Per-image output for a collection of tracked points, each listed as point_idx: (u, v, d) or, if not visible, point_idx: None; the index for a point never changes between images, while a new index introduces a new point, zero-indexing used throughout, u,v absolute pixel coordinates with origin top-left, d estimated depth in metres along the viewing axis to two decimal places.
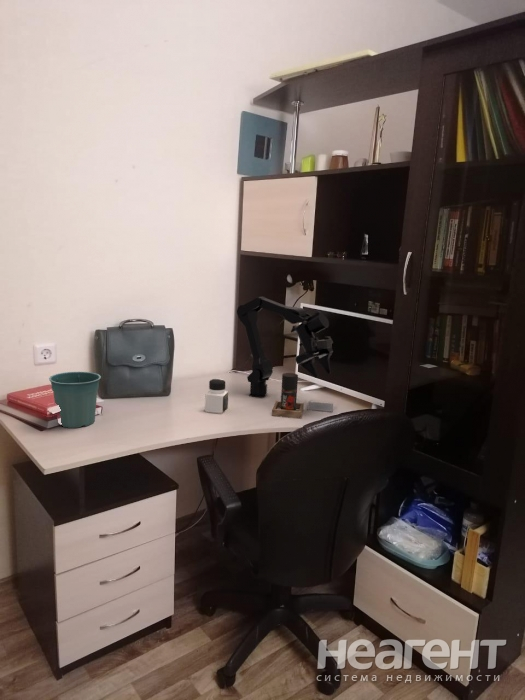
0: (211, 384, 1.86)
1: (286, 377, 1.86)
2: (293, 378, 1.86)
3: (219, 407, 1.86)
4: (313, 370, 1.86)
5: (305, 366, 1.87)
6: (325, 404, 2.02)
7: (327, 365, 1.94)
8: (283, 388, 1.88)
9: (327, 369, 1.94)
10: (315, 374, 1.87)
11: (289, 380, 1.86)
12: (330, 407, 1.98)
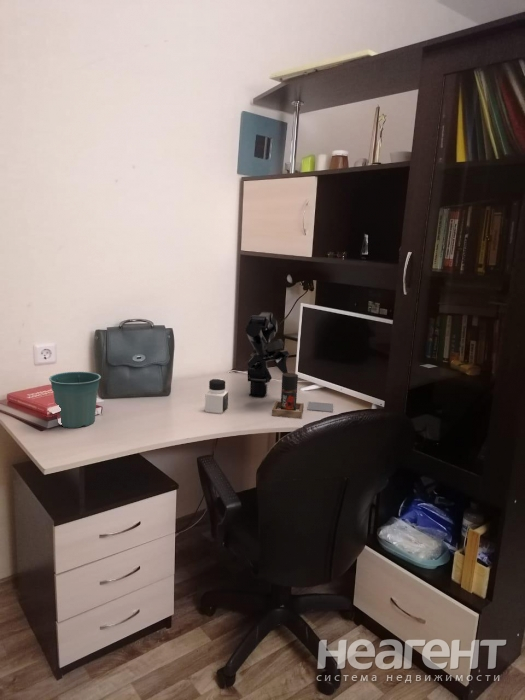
0: (211, 384, 1.86)
1: (286, 377, 1.86)
2: (293, 378, 1.86)
3: (219, 407, 1.86)
4: (266, 372, 1.89)
5: (258, 370, 1.91)
6: (325, 404, 2.02)
7: (284, 368, 1.96)
8: (283, 388, 1.88)
9: (284, 371, 1.96)
10: (268, 376, 1.89)
11: (289, 380, 1.86)
12: (330, 407, 1.98)
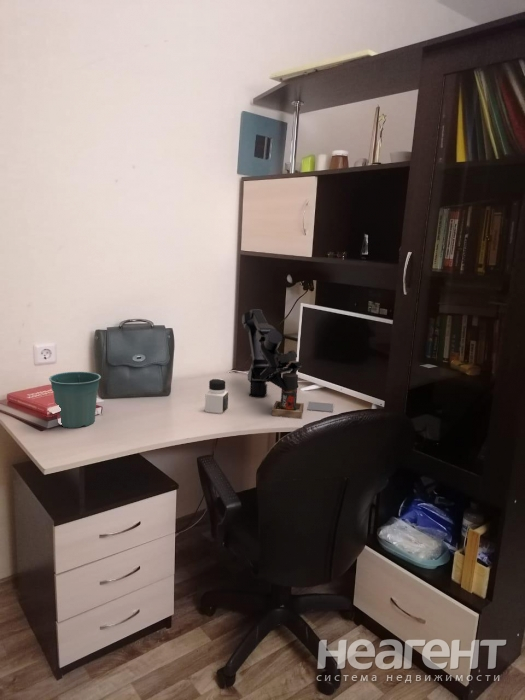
0: (211, 384, 1.86)
1: (286, 377, 1.86)
2: (293, 378, 1.86)
3: (219, 407, 1.86)
4: (281, 384, 1.86)
5: (274, 381, 1.88)
6: (325, 404, 2.02)
7: None
8: None
9: None
10: (284, 388, 1.86)
11: (289, 380, 1.86)
12: (330, 407, 1.98)
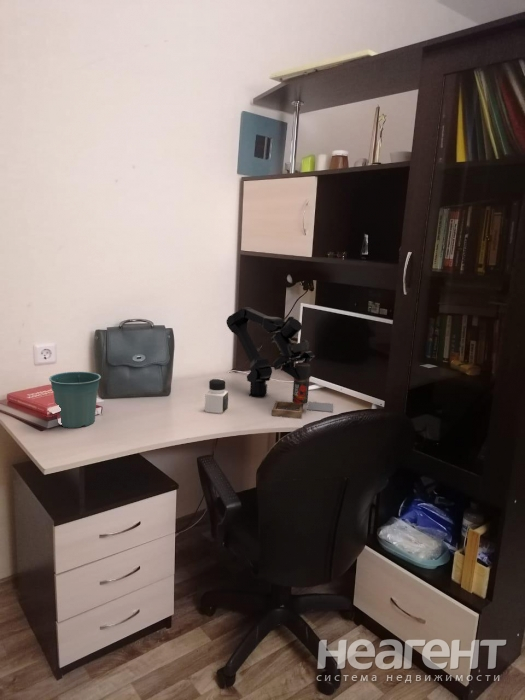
0: (211, 384, 1.86)
1: (299, 366, 1.88)
2: (305, 367, 1.88)
3: (219, 407, 1.86)
4: (294, 373, 1.88)
5: (286, 370, 1.90)
6: (325, 404, 2.02)
7: None
8: None
9: None
10: (296, 377, 1.88)
11: (301, 369, 1.88)
12: (330, 407, 1.98)
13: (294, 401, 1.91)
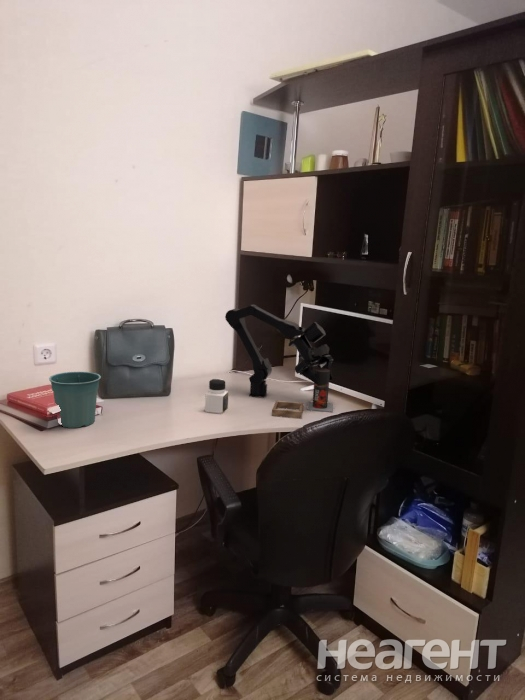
0: (211, 384, 1.86)
1: (319, 372, 1.94)
2: (325, 373, 1.94)
3: (219, 407, 1.86)
4: (313, 377, 1.93)
5: (305, 375, 1.94)
6: None
7: None
8: None
9: (329, 376, 2.00)
10: (315, 381, 1.93)
11: (321, 375, 1.94)
12: (330, 407, 1.98)
13: (314, 406, 1.97)
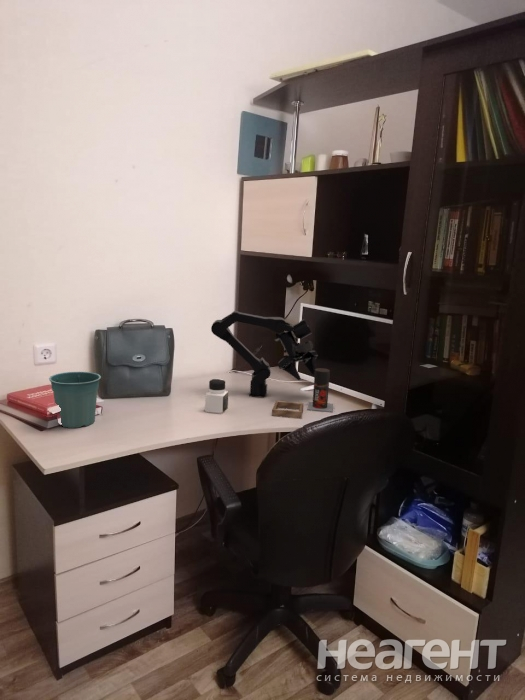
0: (211, 384, 1.86)
1: (319, 372, 1.94)
2: (325, 373, 1.94)
3: (219, 407, 1.86)
4: (295, 373, 1.99)
5: (288, 370, 2.00)
6: None
7: (312, 368, 2.05)
8: (316, 383, 1.96)
9: (313, 371, 2.05)
10: (297, 377, 1.99)
11: (321, 375, 1.94)
12: (330, 407, 1.98)
13: (314, 406, 1.97)
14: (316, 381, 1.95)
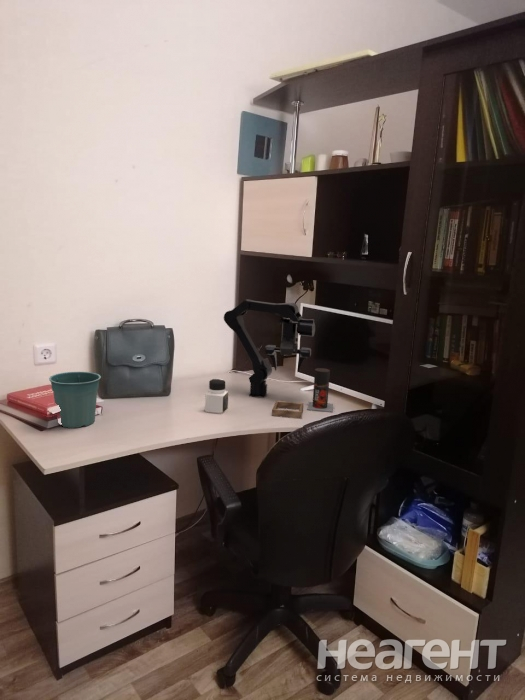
0: (211, 384, 1.86)
1: (319, 372, 1.94)
2: (325, 373, 1.94)
3: (219, 407, 1.86)
4: (273, 363, 2.06)
5: None
6: None
7: (298, 365, 2.04)
8: (316, 383, 1.96)
9: None
10: (274, 367, 2.06)
11: (321, 375, 1.94)
12: (330, 407, 1.98)
13: (314, 406, 1.97)
14: (316, 381, 1.95)
